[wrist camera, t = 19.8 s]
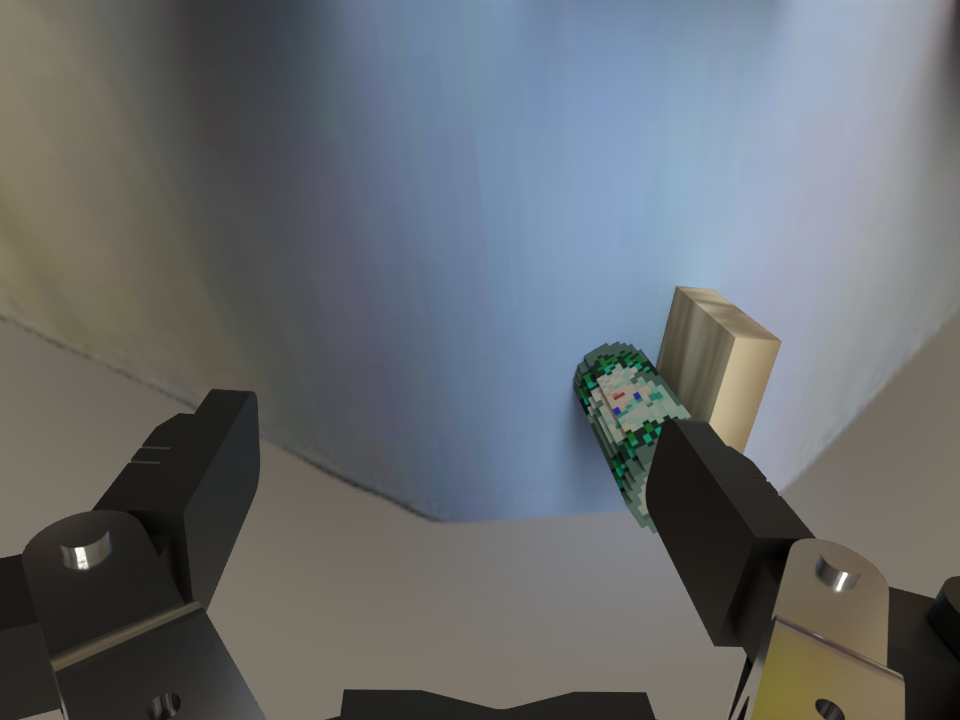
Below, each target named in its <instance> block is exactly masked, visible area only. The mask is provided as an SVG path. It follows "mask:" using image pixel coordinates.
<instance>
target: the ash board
mask: <svg viewBox="0 0 960 720" xmlns="http://www.w3.org/2000/svg"><path fill="white" fill-rule="evenodd" d="M781 342H782V341H781V340H779V339H778V338H777V337H775V336H774V335H773V334H771V333H770V332H769V331H768V330H766V329H765V328H764V327H762V326H761V325H760V324H758V323H757V322H756V321H754V320H753V319H752V318H751V317H749V316H748V315H747V314H745V313H744V312H743V311H741V310H740V309H739V308H737V307H736V306H735V305H734V304H732V303H731V302H730V301H728V300H727V299H726V298H724V297H723V296H722V295H721V294H719V293H718V292H717V291H715V290H713V289H702V288H690V287H679V286H677V287H676V291H675V294H674V298H673V302H672V306H671V310H670V314H669V318H668V322H667V326H666V330H665V334H664V338H663V342H662V345H661V349H660V353H659V357H658V361H657V365H656V370H657V371H658V373H659V374H660V375H661V377H662V378H663V379H664V381H665V382H666V383H667V385H668V386H669V387H670V389H671V390H672V391H673V393H674V394H675V395H676V397H677V398H678V399H679V401H680V402H681V403H682V405H683V406H684V407H685V409H686V410H687V411H688V413H689V414H690V415H691V417H692V418H693V419H694V420H703V421H706V422H708V423H709V424H710V426H711V427H712V428H713V429H714V431H715V432H716V433H717V434H718V436H719V437H720V438H721V440H722V441H723V442H724V443H725V445H726V446H731V447H732V448H734V449H735V450H737V451H738V452H740V453H741V454H742V455H743V452H744V450H745V447H746V444H747V441H748V438H749V435H750V432H751V429H752V426H753V423H754V420H755V417H756V415H757V412H758V409H759V406H760V403H761V400H762V397H763V394H764V391H765V388H766V385H767V382H768V379H769V377H770V374H771V371H772V368H773V365H774V362H775V359H776V356H777V353H778V350H779V347H780V344H781Z"/></svg>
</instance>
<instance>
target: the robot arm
mask: <svg viewBox="0 0 960 720" xmlns="http://www.w3.org/2000/svg"><path fill="white" fill-rule="evenodd" d="M259 450H260V449H259V426H258V404H257V397H256V394H255V392H253V391H237V390H221V389H212V390H211V391H210V392H209V393H208V395H207V396H206V398H205V399H204V401H203V402H202V403H201V405H200V406H199V408H198V409H197V411H196V412H195V414H183V413H179V414H177V415H176V416H174V417H172V418H171V419H169V420H167V421H166V422H164V423H162V424H161V425H159V426H157V427H156V428H155V429H154V431H153V432H152V433H151V434H150V436H149V437H148V438H147V439H146V441H145V442H144V443H143V445H142V448H140V449H139V450H138V451H137V452H136V454H135V455H134V456H133V458H132V459H131V463H128V464H127V465H126V467H125V468H124V469H123V470H122V472H121V473H120V474H119V476H118V477H117V478H116V480H115V481H114V482H113V483H112V485H111V486H110V487H109V489H108V490H107V491H106V492H105V494H104V495H103V496H102V498H101V499H100V500H99V502H98V503H97V504H96V505H95V507H94V508H93V509H92V510H91V511H89V512H84V513H79V514H75V515H72V516H69V517H67V518H64V519H62V520H59V521H57V522H55V523H53V524H51V525H50V526H48V527H46V528H45V529H44V530H42V531H40V532H39V533H38V534H37V535H36V536H34V537H33V538H32V539H31V540H30V542H29V543H28V544H27V545H26V547H25V549H24V551H23V554H19V555H15V556H10V557H5V558H0V720H19V719H22V718H26V717H30V716H33V715H38V714H41V713H45V712H49V711H53V710H57V709H60V713H61V716H62V720H267V719H266V718H265V716H264V714H263V712H262V710H261V709H260V707H259V705H258V703H257V702H256V700H255V698H254V696H253V695H252V693H251V691H250V689H249V688H248V686H247V684H246V682H245V681H244V679H243V677H242V676H241V674H240V672H239V670H238V668H237V666H236V665H235V663H234V661H233V659H232V658H231V656H230V654H229V652H228V651H227V649H226V647H225V646H224V644H223V642H222V640H221V638H220V636H219V635H218V633H217V631H216V629H215V628H214V626H213V624H212V622H211V621H210V619H209V617H208V615H207V614H206V611H207V609H208V606H209V604H210V602H211V599H212V597H213V594H214V592H215V590H216V587H217V585H218V582H219V580H220V578H221V575H222V573H223V570H224V568H225V566H226V563H227V561H228V558H229V556H230V553H231V551H232V549H233V546H234V544H235V541H236V539H237V537H238V534H239V532H240V529H241V527H242V524H243V522H244V520H245V518H246V515H247V513H248V510H249V508H250V505H251V503H252V501H253V498H254V496H255V493H256V490H257V486H258V480H259V473H260V451H259ZM766 479H767V478H766V477H765V476H764V475H763V474H762V472H761V471H760V470H759V469H758V468H757V466H756V465H755V464H754V463H753V462H752V461H751V460H750V459H748V458H747V457H745V456H744V455H742V454H741V453H740V452H738V451H737V450H735V449H734V448H732V447H731V446H726V445H725V443H724V442H723V441H722V440H721V438H720V437H719V436H718V434H717V433H716V432H715V431H714V429H713V428H712V427H711V426H710V424H709V423H708V422H706V421H703V420H687V419H671V418H670V419H667V420H666V421H665V422H664V423H663V425H662V427H661V430H660V434H659V438H658V441H657V445H656V449H655V452H654V456H653V460H652V464H651V467H650V471H649V475H648V478H647V482H646V490H645V498H646V506H647V510H648V513H649V515H650V517H651V519H652V521H653V523H654V525H655V527H656V529H657V531H658V533H659V535H660V537H661V539H662V541H663V543H664V545H665V547H666V549H667V551H668V553H669V555H670V557H671V559H672V561H673V563H674V565H675V567H676V569H677V571H678V574H679V575H680V578H681V580H682V582H683V584H684V585H685V587H686V590H687V592H688V594H689V596H690V598H691V600H692V602H693V604H694V606H695V608H696V610H697V612H698V614H699V616H700V618H701V620H702V622H703V624H704V626H705V628H706V630H707V632H708V634H709V636H710V638H711V640H712V642H713V644H714V646H726V647H729V646H730V647H743V649H744V651H745V652H746V654H747V655H746V657H745V660H744V663H743V665H742V667H741V670H740V673H739V676H738V680H737V683H736V686H735V690H734V693H733V696H732V700H731V703H730V706H729V709H728V713H727V716H726V719H725V720H960V576H956V577H951V578H949V579H947V580H946V581H945V582H944V584H943V586H942V588H941V590H940V591H939V593H938V595H937V597H936V598H935V599H934V598H930V597H927V596H923V595H919V594H915V593H911V592H907V591H904V590H900V589H896V588H892V587H889V586H888V584H887V581H886V579H885V578H884V576H883V574H882V573H881V572H880V571H879V570H878V569H877V568H876V567H875V566H874V565H873V564H872V563H871V562H869V561H868V560H867V559H866V558H864V557H863V556H861V555H860V554H858V553H856V552H854V551H853V550H851V549H849V548H847V547H844V546H842V545H839V544H837V543H834V542H831V541H827V540H821V539H816V538H815V536H814V535H813V534H812V533H811V532H810V530H809V529H808V528H807V527H806V526H805V524H804V523H803V522H802V521H801V520H800V518H799V517H798V516H797V515H796V514H795V512H794V511H793V510H792V509H791V508H790V506H789V505H788V504H787V503H786V501H785V500H784V499H783V498H782V497H781V496H778V492H777V491H776V489H775V488H774V487H773V486H772V484H771V483H770V482H767V481H766ZM326 720H656V719H655V716H654V714H653V711H652V708H651V705H650V702H649V700H648V696H647V694H646V692H572V693H568V694H564V695H561V696H557V697H553V698H549V699H545V700H541V701H537V702H533V703H529V704H525V705H521V706H517V707H513V708H510V709H493V708H489V707H485V706H481V705H478V704H474V703H469V702H466V701H462V700H458V699H454V698H450V697H446V696H442V695H438V694H434V693H430V692H426V691H422V690H344V693H343V700H342V707H341V715H340V716H338V717H334V718H330V719H326Z"/></svg>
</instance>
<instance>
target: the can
mask: <svg viewBox="0 0 960 720" xmlns="http://www.w3.org/2000/svg"><path fill="white" fill-rule="evenodd" d="M584 357H585V359H586V360H585V361H584V362H582V363H580V364H578V367H579V370H577V371H576V373H577V376H576V377H574V380H575V382H576V384H577V386H576V387H574V389H575V391H576V393H577V396H578V398H579V400H580V402H581V405H582V407H583V409H584V411H585V413H586V416H587V418H588V420H589V422H590V425H591V427H592V429H593V431H594V433H595V436H596V438H597V440H598V442H599V445H600V447H601V449H602V451H603V454H604V456H605V458H606V460H607V462H608V465H609V467H610V469H611V471H612V474H613V476H614V478H615V480H616V483H617V485H618V487H619V489H620V491H621V494H622V496H623V498H624V500H625V503H626V505H627V507H628V508H629V510H630V511H631V513H632V514H633V516H634V517H635V518H636V520H637V522H638V523H639V525H640V526H641V528H643V527H645V526H647V525H648V526H649V527H650V529H651V531H652V532H653V533H656V532H658V531H657V529H656V527H655V525H654V523H653V521H652V519H651V517H650V515H649V513H648V510H647V506H646V498H645V490H646V482H647V478H648V475H649V471H650V467H651V464H652V460H653V456H654V452H655V449H656V445H657V441H658V438H659V434H660V430H661V427H662V425H663V423H664V422H665V421H666V420H667V419H670V418H671V419H687V420H694V419H693V418H692V417H691V415H690V414H689V413H688V411H687V410H686V409H685V407H684V406H683V405H682V403H681V402H680V401H679V399H678V398H677V397H676V395H675V394H674V393H673V391H672V390H671V389H670V387H669V386H668V385H667V383H666V382H665V381H664V379H663V378H662V377H661V375H660V374H659V373H658V371H657V370H656V369H655V367H654V366H653V365H652V363H651V362H650V361H649V359H648V358H647V357H646V356H645V354H644V353H643V352H642V350H641V349H640V350H638V351H636V349H635V348H634V346H633V345H632V344H631V345H629V346H627V345H626V344H625V343H624V344H622V345H620V344H619V342H616V343H614V344H613V345H611V346H608V344H607V343H605V344H604V345H602V346H600V347H599V348H597V349H595V350H593V351H592V352H590V353H588V354H587V355H585V356H584Z"/></svg>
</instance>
